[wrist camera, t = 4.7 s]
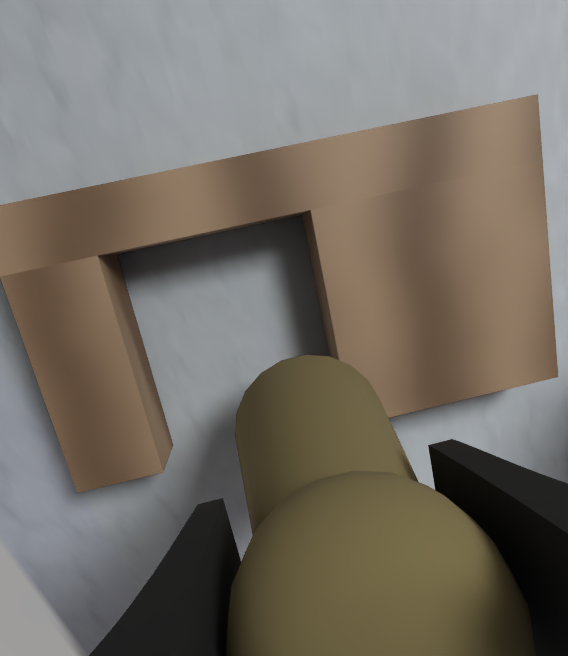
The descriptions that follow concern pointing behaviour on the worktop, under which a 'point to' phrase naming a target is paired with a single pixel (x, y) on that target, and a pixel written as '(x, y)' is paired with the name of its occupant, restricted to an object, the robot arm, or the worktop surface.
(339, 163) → the notched board
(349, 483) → the cork
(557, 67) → the worktop surface
